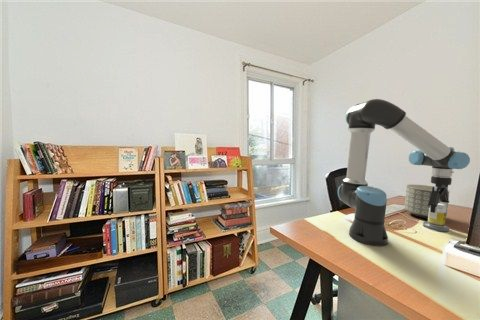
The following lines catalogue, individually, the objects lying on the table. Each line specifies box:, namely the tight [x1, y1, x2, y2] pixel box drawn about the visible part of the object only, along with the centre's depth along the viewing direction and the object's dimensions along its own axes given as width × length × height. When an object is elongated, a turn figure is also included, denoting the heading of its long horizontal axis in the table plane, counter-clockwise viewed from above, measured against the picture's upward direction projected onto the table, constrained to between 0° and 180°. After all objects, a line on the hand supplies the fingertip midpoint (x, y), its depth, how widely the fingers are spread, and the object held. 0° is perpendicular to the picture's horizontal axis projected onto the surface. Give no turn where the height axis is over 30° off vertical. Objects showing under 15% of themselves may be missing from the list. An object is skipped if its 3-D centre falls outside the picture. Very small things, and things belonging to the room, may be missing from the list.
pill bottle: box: [427, 203, 447, 227], centre depth 104 cm, size 6×6×12 cm
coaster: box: [422, 220, 451, 233], centre depth 105 cm, size 10×10×2 cm
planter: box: [404, 184, 450, 220], centre depth 121 cm, size 19×19×18 cm
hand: (437, 216), depth 104 cm, fingers open, 13 cm apart
